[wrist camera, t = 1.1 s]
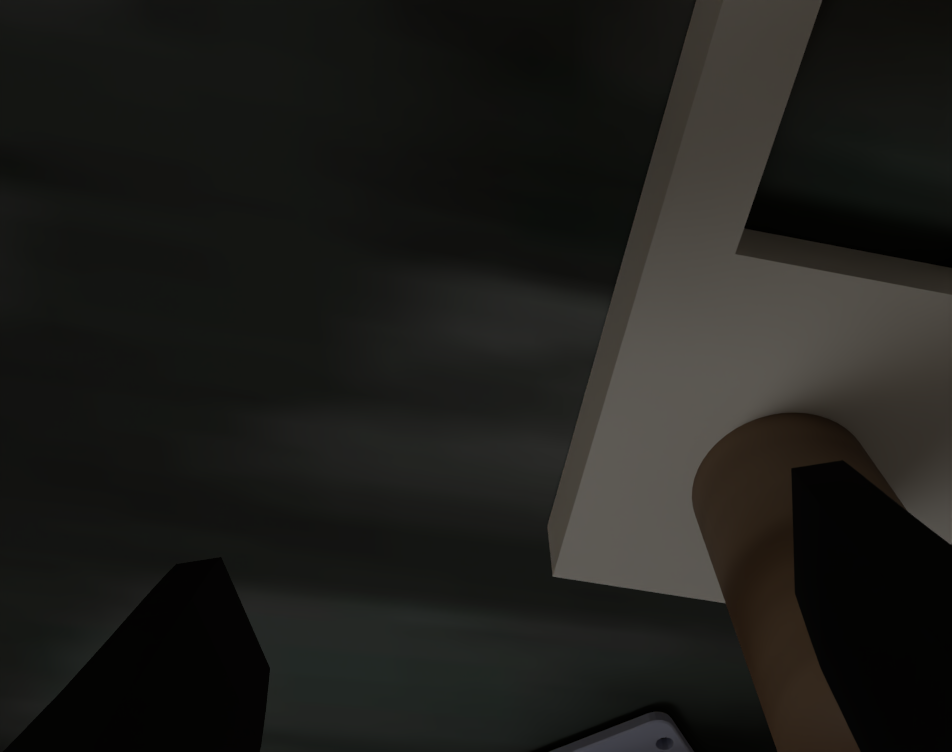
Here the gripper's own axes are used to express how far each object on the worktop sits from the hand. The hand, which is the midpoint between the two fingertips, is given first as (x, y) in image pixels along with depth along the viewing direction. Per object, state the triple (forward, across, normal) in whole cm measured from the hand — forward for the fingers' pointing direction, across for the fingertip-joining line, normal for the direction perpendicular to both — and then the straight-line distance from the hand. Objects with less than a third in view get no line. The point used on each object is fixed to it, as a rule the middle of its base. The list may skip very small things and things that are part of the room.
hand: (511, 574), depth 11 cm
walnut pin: (+8, -6, +6) cm, 11 cm away
